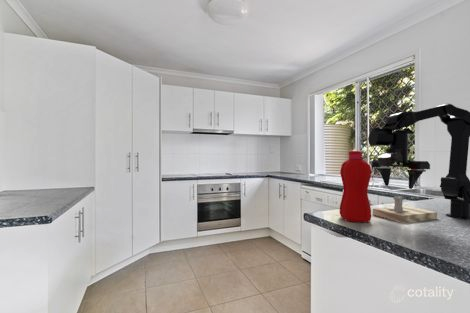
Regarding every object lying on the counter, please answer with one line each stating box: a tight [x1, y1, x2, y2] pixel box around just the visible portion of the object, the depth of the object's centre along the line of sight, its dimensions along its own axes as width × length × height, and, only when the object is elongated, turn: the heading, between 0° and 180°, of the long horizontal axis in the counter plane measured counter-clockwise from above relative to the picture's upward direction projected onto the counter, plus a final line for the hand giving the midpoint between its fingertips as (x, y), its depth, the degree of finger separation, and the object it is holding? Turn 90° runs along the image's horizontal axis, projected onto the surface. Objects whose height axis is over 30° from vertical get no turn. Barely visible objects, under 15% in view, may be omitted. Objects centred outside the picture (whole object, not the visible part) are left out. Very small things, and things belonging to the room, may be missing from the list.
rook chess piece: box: [392, 195, 404, 213], centre depth 90 cm, size 4×4×8 cm
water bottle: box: [339, 150, 374, 223], centre depth 86 cm, size 9×11×25 cm
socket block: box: [371, 205, 438, 224], centre depth 91 cm, size 18×12×2 cm, turn 109°
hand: (398, 187), depth 90 cm, fingers open, 9 cm apart
